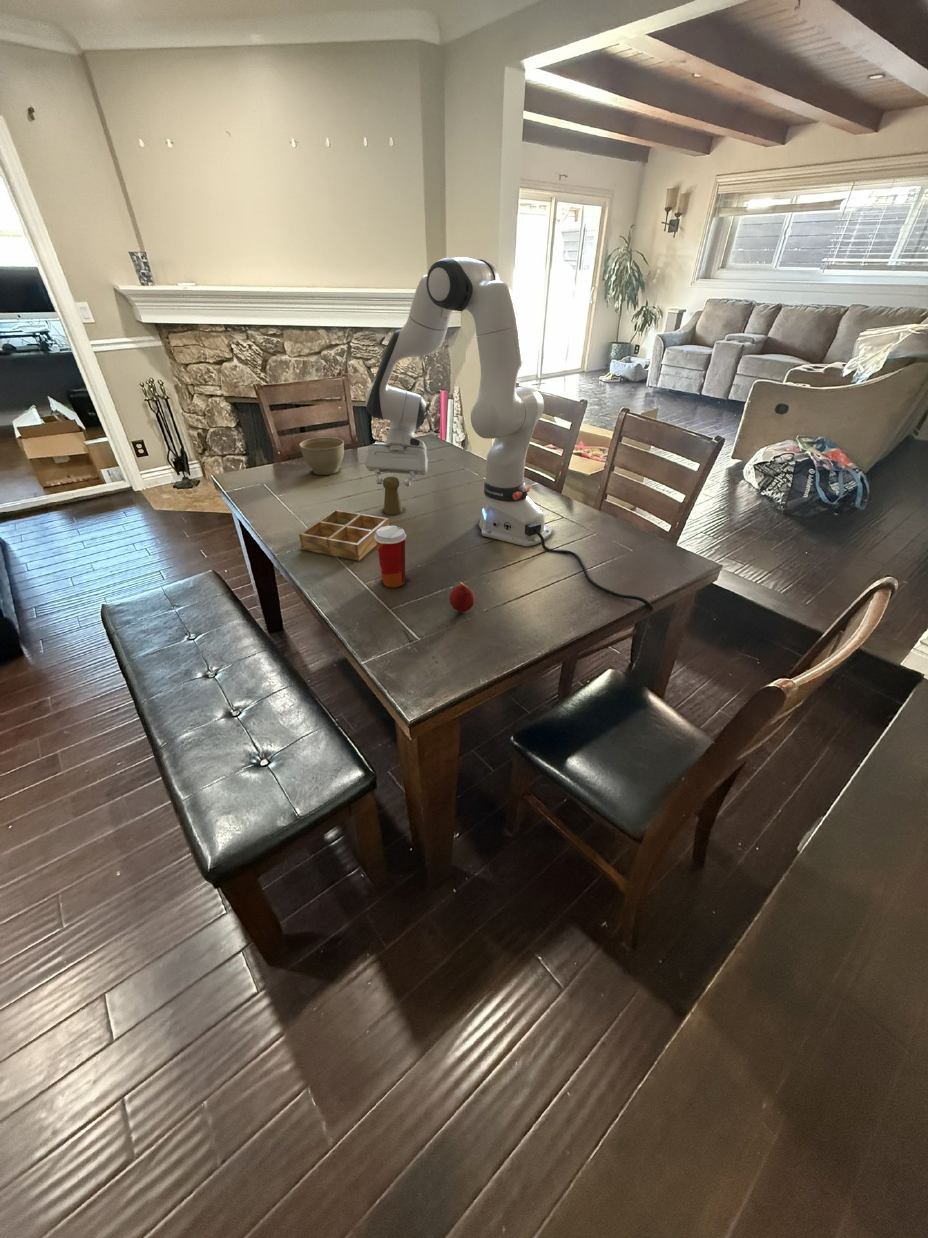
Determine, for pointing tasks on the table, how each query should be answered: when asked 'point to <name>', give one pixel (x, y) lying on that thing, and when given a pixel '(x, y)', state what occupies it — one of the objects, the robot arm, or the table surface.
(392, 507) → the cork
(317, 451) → the planter bowl
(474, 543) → the table surface
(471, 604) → the onion
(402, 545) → the paper cup
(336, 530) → the wooden compartment tray
